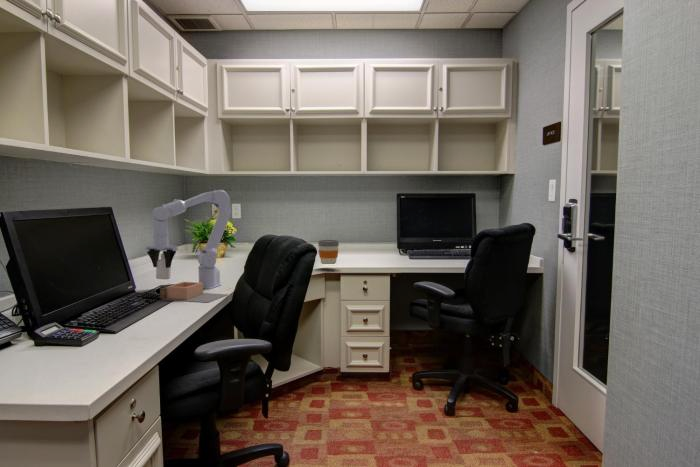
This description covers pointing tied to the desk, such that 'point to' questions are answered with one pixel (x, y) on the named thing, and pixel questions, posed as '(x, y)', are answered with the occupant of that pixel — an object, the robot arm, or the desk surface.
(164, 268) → the eye dropper bottle
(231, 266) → the desk surface
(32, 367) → the desk surface
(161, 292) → the end wall
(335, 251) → the reusable coffee cup
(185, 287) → the socket block
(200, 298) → the mat
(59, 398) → the desk surface
